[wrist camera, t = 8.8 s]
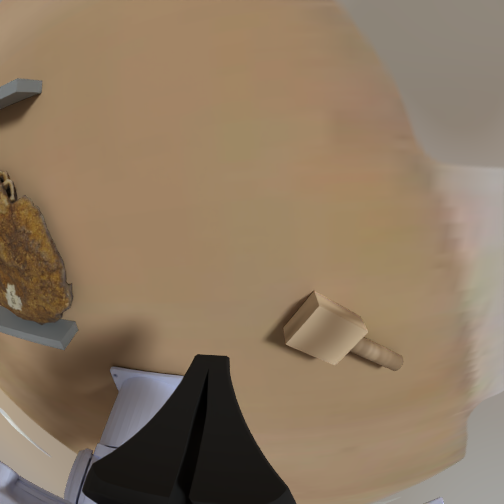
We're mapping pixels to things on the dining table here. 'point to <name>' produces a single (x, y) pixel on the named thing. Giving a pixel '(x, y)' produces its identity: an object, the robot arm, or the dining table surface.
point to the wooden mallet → (334, 334)
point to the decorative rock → (29, 261)
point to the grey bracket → (4, 318)
